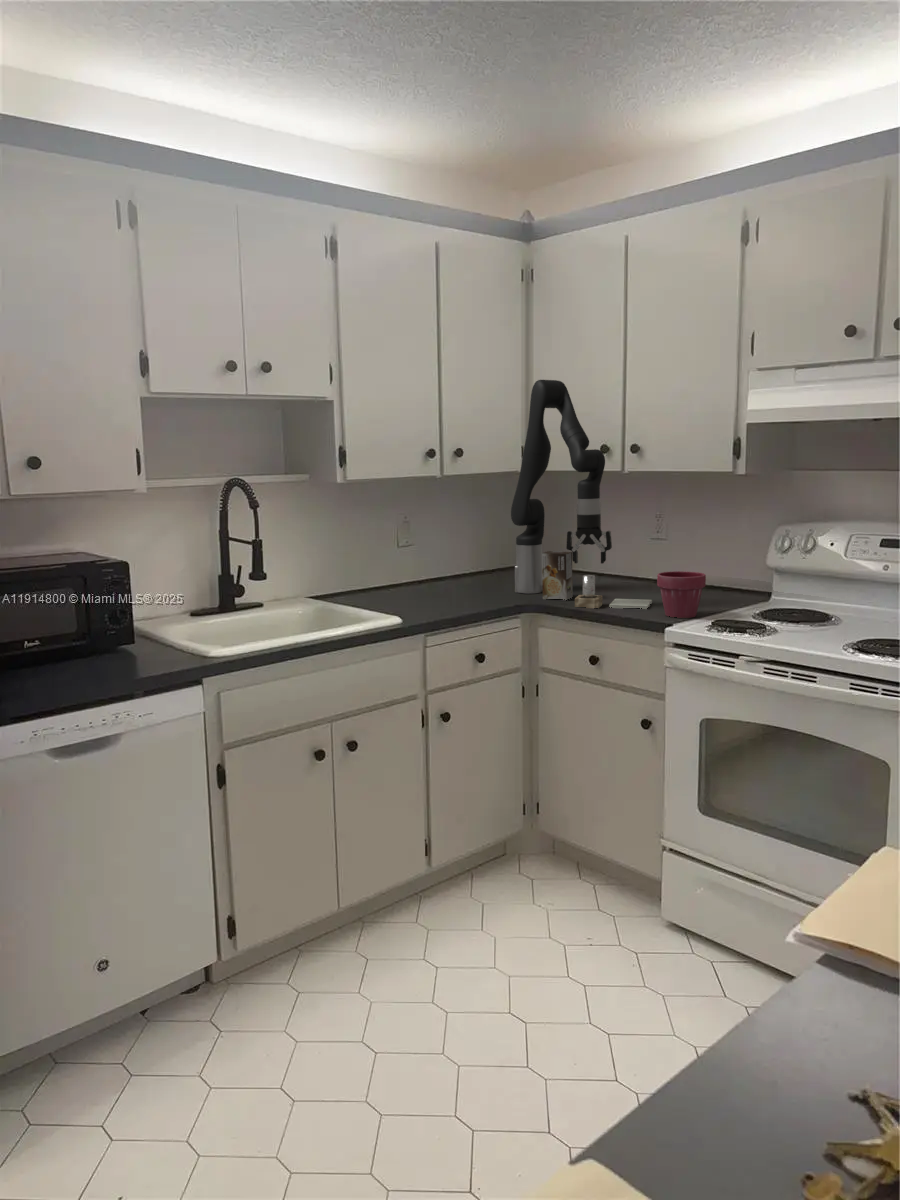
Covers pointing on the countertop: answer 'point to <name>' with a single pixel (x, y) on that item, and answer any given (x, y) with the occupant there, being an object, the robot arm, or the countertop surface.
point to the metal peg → (589, 586)
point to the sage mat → (630, 603)
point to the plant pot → (681, 592)
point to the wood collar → (588, 601)
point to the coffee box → (557, 575)
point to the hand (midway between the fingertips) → (589, 563)
